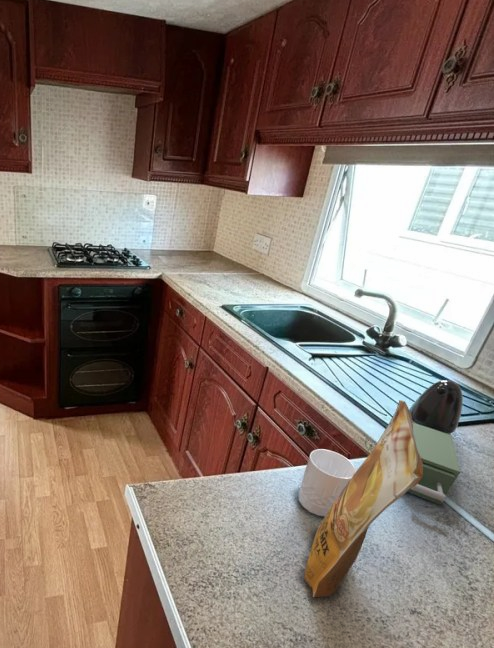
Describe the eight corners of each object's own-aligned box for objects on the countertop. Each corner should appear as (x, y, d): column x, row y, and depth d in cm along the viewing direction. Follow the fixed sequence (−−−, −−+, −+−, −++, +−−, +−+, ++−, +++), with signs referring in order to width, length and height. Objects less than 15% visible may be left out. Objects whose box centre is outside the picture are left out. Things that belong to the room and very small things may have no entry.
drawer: (441, 520, 76) (458, 493, 73) (396, 501, 79) (410, 475, 76) (434, 466, 90) (448, 442, 87) (396, 453, 93) (408, 429, 90)
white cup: (339, 499, 79) (357, 460, 75) (336, 526, 73) (355, 485, 69) (298, 482, 83) (312, 443, 78) (291, 506, 77) (307, 466, 72)
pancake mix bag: (360, 536, 72) (427, 404, 59) (343, 624, 57) (428, 473, 45) (320, 517, 75) (376, 387, 63) (294, 595, 60) (361, 447, 48)
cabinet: (440, 505, 81) (460, 472, 77) (391, 485, 85) (408, 453, 81) (434, 465, 92) (452, 435, 88) (391, 450, 96) (406, 420, 92)
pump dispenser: (393, 425, 106) (417, 375, 99) (415, 417, 110) (440, 369, 104) (434, 449, 98) (464, 396, 91) (456, 439, 102) (486, 388, 96)
